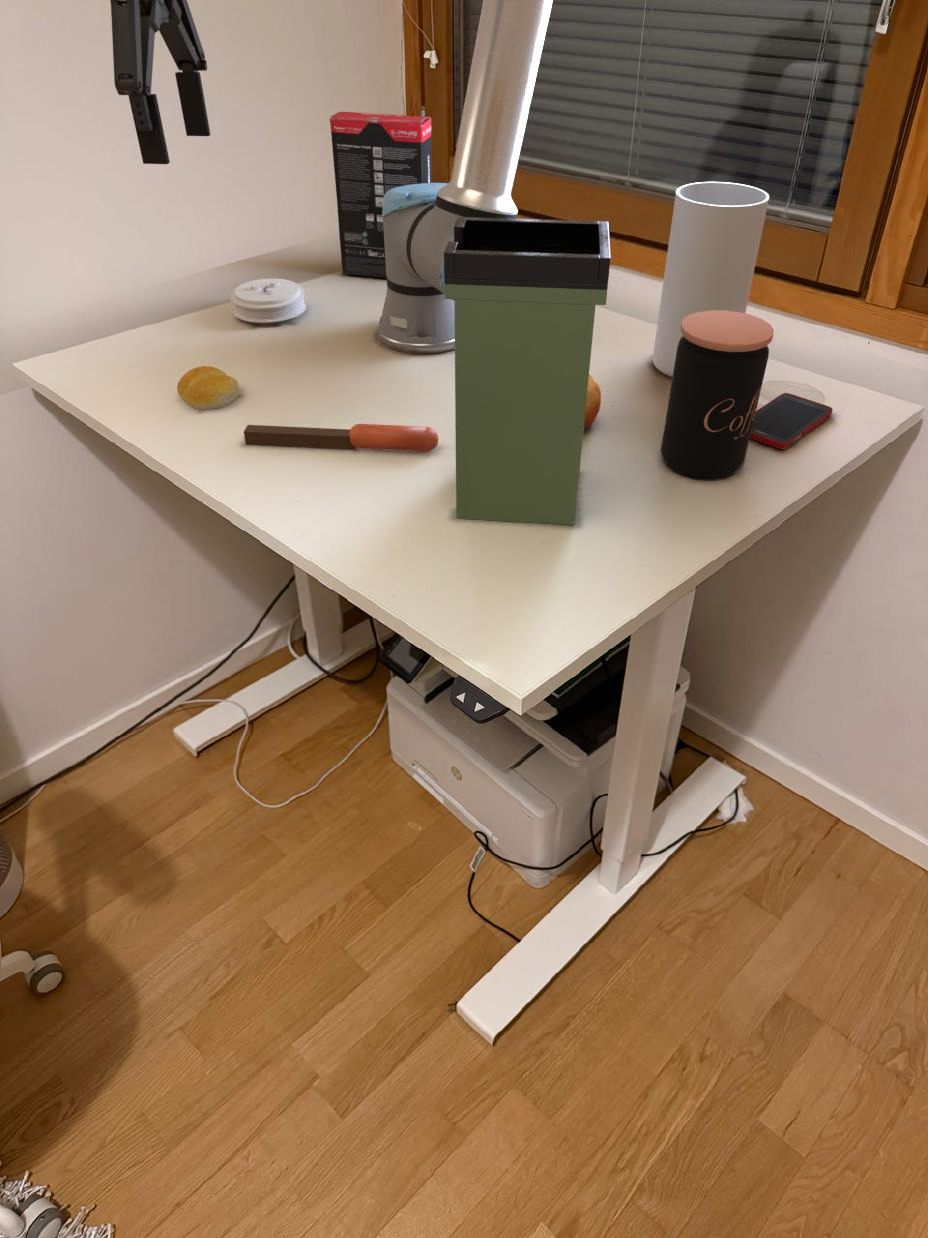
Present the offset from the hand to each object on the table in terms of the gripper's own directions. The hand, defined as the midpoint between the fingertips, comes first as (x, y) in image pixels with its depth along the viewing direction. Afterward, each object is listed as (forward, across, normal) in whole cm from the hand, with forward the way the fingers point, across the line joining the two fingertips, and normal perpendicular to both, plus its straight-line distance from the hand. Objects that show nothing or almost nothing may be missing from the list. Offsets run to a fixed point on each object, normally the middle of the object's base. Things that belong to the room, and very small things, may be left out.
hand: (178, 148), depth 101 cm
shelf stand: (+35, +15, +41) cm, 56 cm away
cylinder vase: (+35, -26, +66) cm, 79 cm away
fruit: (+35, -5, +47) cm, 59 cm away
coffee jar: (+35, +4, +64) cm, 73 cm away
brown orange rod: (+35, +5, +17) cm, 39 cm away
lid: (+35, -40, -6) cm, 53 cm away
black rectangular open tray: (+7, +15, +41) cm, 44 cm away
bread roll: (+35, -7, -6) cm, 36 cm away
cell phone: (+35, -7, +77) cm, 85 cm away
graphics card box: (+35, -62, +12) cm, 72 cm away
